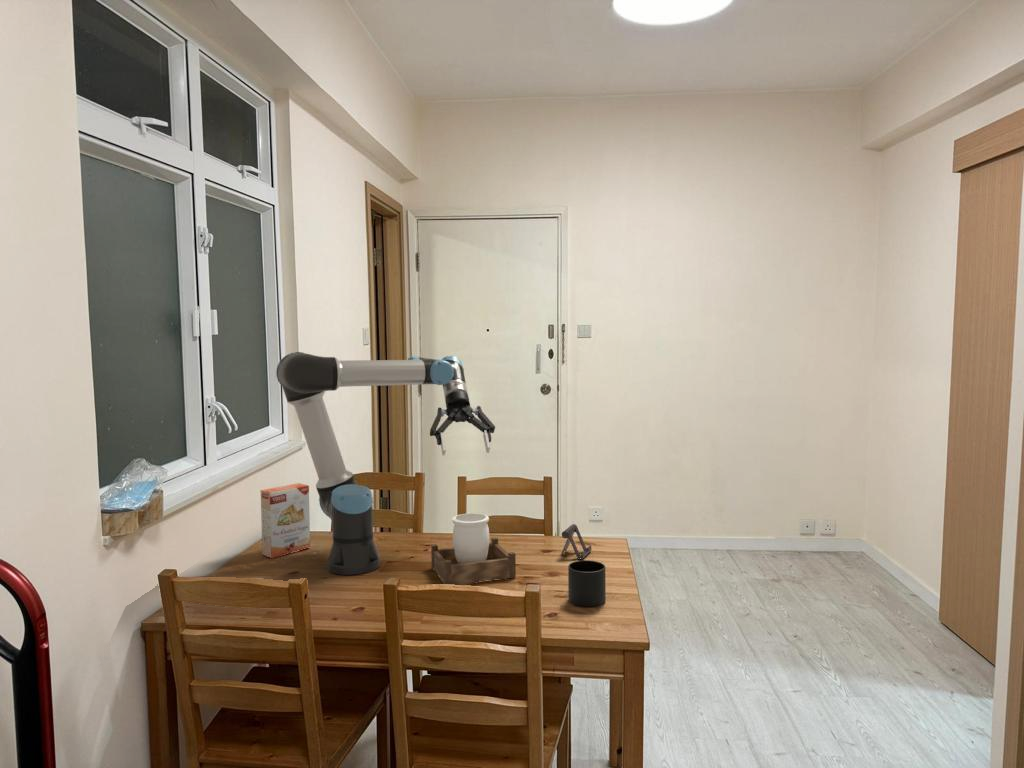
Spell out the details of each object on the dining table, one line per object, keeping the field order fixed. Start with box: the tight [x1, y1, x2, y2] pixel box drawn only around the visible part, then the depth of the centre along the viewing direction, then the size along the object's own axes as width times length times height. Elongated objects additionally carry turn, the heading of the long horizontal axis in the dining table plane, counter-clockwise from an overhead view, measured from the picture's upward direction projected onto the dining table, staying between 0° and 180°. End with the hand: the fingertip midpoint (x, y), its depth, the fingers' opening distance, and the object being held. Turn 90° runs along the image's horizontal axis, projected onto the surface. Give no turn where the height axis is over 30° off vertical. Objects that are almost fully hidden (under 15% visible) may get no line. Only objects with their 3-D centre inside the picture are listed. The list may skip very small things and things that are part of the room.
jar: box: [452, 512, 490, 564], centre depth 207 cm, size 11×10×15 cm
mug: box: [567, 559, 607, 608], centre depth 187 cm, size 9×12×9 cm
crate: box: [430, 537, 517, 586], centre depth 207 cm, size 20×17×7 cm
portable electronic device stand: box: [560, 523, 592, 561], centre depth 223 cm, size 9×8×8 cm
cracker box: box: [260, 482, 311, 559], centre depth 228 cm, size 14×6×21 cm, turn 139°
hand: (466, 451), depth 219 cm, fingers open, 13 cm apart
